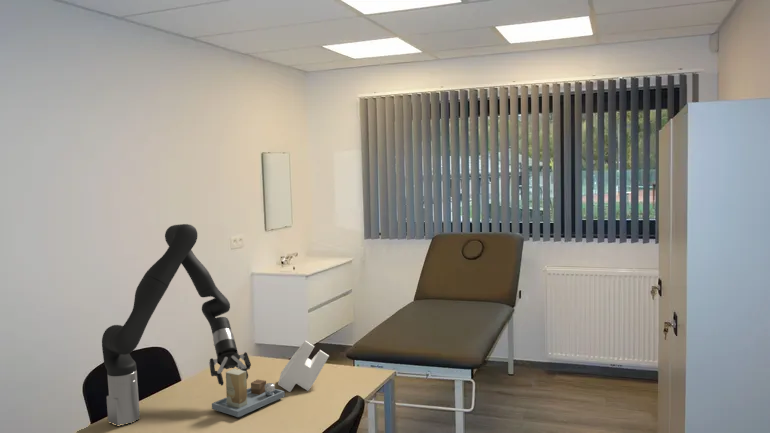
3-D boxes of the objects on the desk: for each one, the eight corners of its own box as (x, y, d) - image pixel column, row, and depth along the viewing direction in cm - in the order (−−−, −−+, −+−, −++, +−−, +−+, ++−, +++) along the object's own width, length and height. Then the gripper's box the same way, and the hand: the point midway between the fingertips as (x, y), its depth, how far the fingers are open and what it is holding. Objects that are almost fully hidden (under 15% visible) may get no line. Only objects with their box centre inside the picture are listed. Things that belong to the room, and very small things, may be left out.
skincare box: (226, 405, 213) (224, 372, 212) (235, 401, 217) (233, 368, 216) (240, 408, 210) (238, 374, 209) (248, 404, 213) (246, 370, 212)
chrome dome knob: (269, 397, 219) (269, 387, 219) (263, 395, 221) (262, 385, 221) (277, 394, 222) (276, 384, 221) (270, 392, 224) (269, 382, 224)
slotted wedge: (302, 399, 230) (328, 361, 229) (277, 384, 228) (304, 345, 228) (303, 387, 243) (329, 350, 243) (281, 372, 242) (306, 336, 242)
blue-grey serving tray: (238, 420, 204) (237, 411, 204) (212, 411, 212) (211, 403, 212) (284, 399, 222) (284, 391, 222) (259, 391, 230) (258, 384, 230)
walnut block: (260, 394, 222) (259, 384, 222) (251, 393, 224) (250, 382, 224) (266, 391, 226) (266, 380, 225) (258, 389, 228) (257, 379, 227)
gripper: (206, 341, 219) (215, 381, 210) (244, 335, 226) (255, 373, 217) (204, 351, 224) (213, 391, 215) (242, 345, 231) (252, 383, 222)
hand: (234, 382), depth 216 cm, fingers open, 8 cm apart
